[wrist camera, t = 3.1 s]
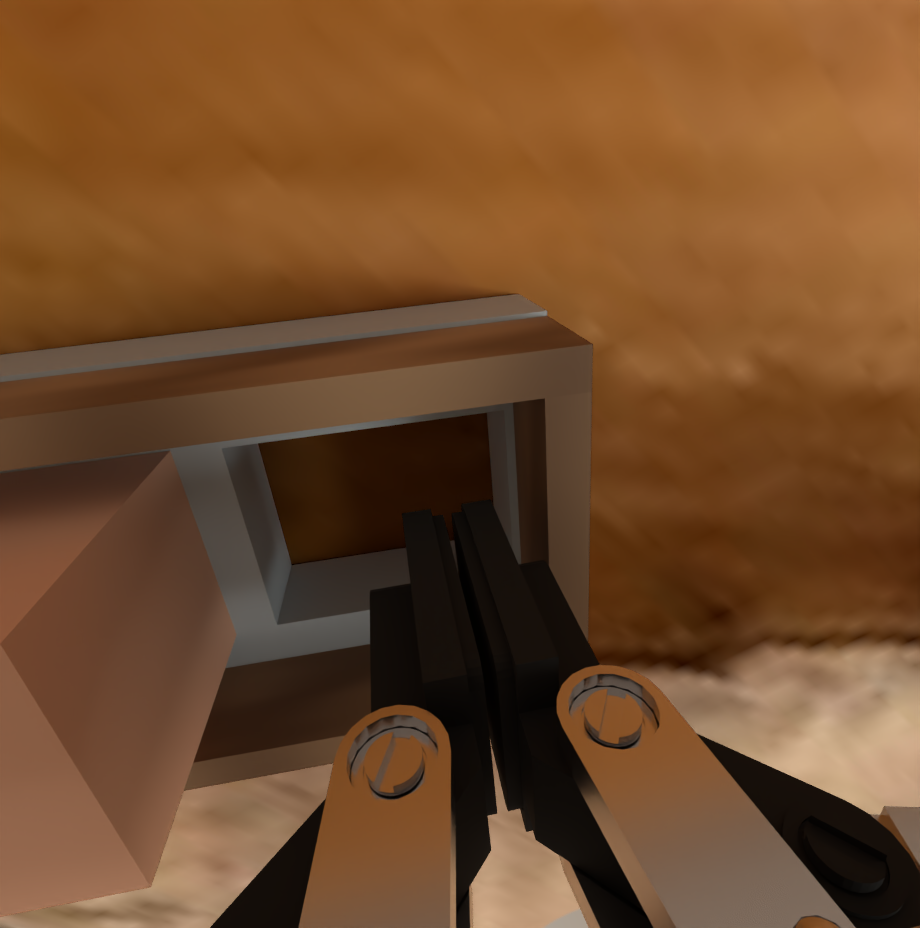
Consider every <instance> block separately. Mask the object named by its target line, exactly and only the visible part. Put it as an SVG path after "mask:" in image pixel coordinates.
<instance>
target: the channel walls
mask: <svg viewBox="0 0 920 928" xmlns="http://www.w3.org/2000/svg"><path fill="white" fill-rule="evenodd" d="M592 356H593V344H592V343H590V342H588V341H587V340H585V339H584V338H582V337H580V336H579V335H577V334H576V333H574V332H572V331H571V330H569V329H568V328H566V327H564V326H563V325H561V324H560V323H558V322H556V321H555V320H553V319H551V318H550V317H548V316H542V317H534V318H525V319H517V320H509V321H501V322H492V323H484V324H476V325H468V326H459V327H451V328H443V329H435V330H426V331H418V332H410V333H402V334H393V335H385V336H377V337H369V338H360V339H352V340H344V341H336V342H327V343H319V344H311V345H303V346H294V347H286V348H278V349H270V350H261V351H253V352H245V353H237V354H228V355H220V356H212V357H203V358H195V359H187V360H179V361H170V362H162V363H154V364H146V365H137V366H129V367H121V368H113V369H104V370H96V371H88V372H80V373H71V374H63V375H55V376H47V377H38V378H30V379H22V380H14V381H5V382H0V471H5V470H13V469H20V468H28V467H35V466H43V465H50V464H58V463H65V462H73V461H80V460H88V459H95V458H103V457H110V456H118V455H125V454H132V453H140V452H147V451H155V450H162V449H170V448H177V447H185V446H192V445H200V444H207V443H215V442H222V441H230V440H237V439H245V438H252V437H259V436H267V435H274V434H282V433H289V432H297V431H304V430H312V429H319V428H327V427H334V426H342V425H349V424H357V423H364V422H371V421H379V420H386V419H394V418H401V417H409V416H416V415H424V414H431V413H439V412H446V411H454V410H461V409H469V408H476V407H484V406H491V405H498V404H506V403H513V415H514V434H515V453H516V473H517V492H518V511H519V531H520V550H521V564H523V563H529V562H534V561H540V560H544V561H546V563H547V564H548V566H549V567H550V569H551V571H552V573H553V575H554V577H555V579H556V581H557V583H558V585H559V587H560V589H561V591H562V593H563V595H564V597H565V599H566V600H567V602H568V604H569V606H570V608H571V610H572V612H573V614H574V616H575V618H576V620H577V622H578V624H579V626H580V628H581V630H582V632H583V634H584V635H585V637H586V639H587V641H588V607H589V544H590V482H591V419H592ZM370 713H371V673H370V644H367V645H361V646H355V647H349V648H343V649H337V650H331V651H325V652H319V653H314V654H308V655H302V656H296V657H290V658H284V659H278V660H272V661H266V662H260V663H254V664H248V665H242V666H236V667H230V668H225V671H224V674H223V676H222V679H221V682H220V685H219V688H218V691H217V694H216V697H215V700H214V703H213V706H212V709H211V712H210V715H209V718H208V721H207V723H206V726H205V729H204V732H203V735H202V738H201V741H200V744H199V747H198V750H197V753H196V756H195V759H194V762H193V765H192V768H191V771H190V773H189V776H188V779H187V782H186V785H185V788H184V791H185V790H191V789H196V788H201V787H207V786H212V785H218V784H223V783H229V782H234V781H239V780H245V779H250V778H256V777H261V776H267V775H272V774H277V773H283V772H288V771H294V770H299V769H305V768H310V767H315V766H321V765H326V764H332V763H334V759H335V756H336V753H337V751H338V748H339V745H340V743H341V741H342V740H343V738H344V737H345V735H346V734H347V733H348V731H349V730H350V729H351V727H353V726H354V725H355V724H356V723H357V722H359V721H360V720H361V719H362V718H363V717H365V716H366V715H368V714H370Z"/></svg>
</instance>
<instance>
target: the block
mask: <svg viewBox="0 0 920 928" xmlns="http://www.w3.org/2000/svg"><path fill="white" fill-rule="evenodd" d="M236 635H237V634H236V632H235V629H234V626H233V623H232V620H231V618H230V615H229V612H228V609H227V607H226V604H225V601H224V598H223V595H222V593H221V590H220V587H219V584H218V582H217V579H216V576H215V573H214V571H213V568H212V565H211V562H210V559H209V557H208V554H207V551H206V548H205V546H204V543H203V540H202V537H201V534H200V532H199V529H198V526H197V523H196V521H195V518H194V515H193V512H192V510H191V507H190V504H189V501H188V498H187V496H186V493H185V490H184V487H183V485H182V482H181V479H180V476H179V473H178V471H177V468H176V465H175V462H174V460H173V457H172V454H171V451H164V452H157V453H149V454H142V455H134V456H127V457H119V458H112V459H105V460H97V461H90V462H82V463H75V464H67V465H60V466H52V467H45V468H37V469H30V470H23V471H15V472H8V473H0V917H2V916H7V915H12V914H17V913H22V912H27V911H32V910H38V909H43V908H48V907H53V906H58V905H63V904H68V903H73V902H78V901H83V900H88V899H93V898H98V897H103V896H108V895H114V894H119V893H124V892H129V891H134V890H139V889H144V888H149V887H151V885H152V882H153V879H154V876H155V873H156V870H157V868H158V865H159V862H160V859H161V856H162V853H163V850H164V847H165V844H166V841H167V838H168V835H169V832H170V829H171V826H172V823H173V821H174V818H175V815H176V812H177V809H178V806H179V803H180V800H181V797H182V794H183V791H184V788H185V785H186V782H187V779H188V776H189V773H190V771H191V768H192V765H193V762H194V759H195V756H196V753H197V750H198V747H199V744H200V741H201V738H202V735H203V732H204V729H205V726H206V723H207V721H208V718H209V715H210V712H211V709H212V706H213V703H214V700H215V697H216V694H217V691H218V688H219V685H220V682H221V679H222V676H223V674H224V671H225V668H226V665H227V662H228V659H229V656H230V653H231V650H232V647H233V644H234V641H235V638H236Z"/></svg>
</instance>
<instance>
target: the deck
mask: <svg viewBox="0 0 920 928" xmlns="http://www.w3.org/2000/svg"><path fill="white" fill-rule="evenodd" d="M542 316H547V310H545V309H543V308H541V307H540V306H538V305H536V304H535V303H533V302H531V301H530V300H528V299H526V298H525V297H523V296H521V295H520V294H513V295H505V296H496V297H488V298H479V299H471V300H462V301H454V302H445V303H437V304H428V305H420V306H411V307H403V308H394V309H385V310H377V311H368V312H360V313H351V314H343V315H334V316H326V317H317V318H309V319H300V320H292V321H283V322H275V323H266V324H258V325H249V326H241V327H232V328H223V329H215V330H206V331H198V332H189V333H181V334H172V335H164V336H155V337H147V338H138V339H130V340H121V341H113V342H104V343H96V344H87V345H79V346H70V347H61V348H53V349H44V350H36V351H27V352H19V353H10V354H2V355H0V382H5V381H14V380H22V379H30V378H38V377H47V376H55V375H63V374H71V373H80V372H88V371H96V370H104V369H113V368H121V367H129V366H137V365H146V364H154V363H162V362H170V361H179V360H187V359H195V358H203V357H212V356H220V355H228V354H237V353H245V352H253V351H261V350H270V349H278V348H286V347H294V346H303V345H311V344H319V343H327V342H336V341H344V340H352V339H360V338H369V337H377V336H385V335H393V334H402V333H410V332H418V331H426V330H435V329H443V328H451V327H459V326H468V325H476V324H484V323H492V322H501V321H509V320H517V319H525V318H534V317H542ZM480 413H487V423H488V436H489V449H490V463H491V476H492V489H493V503H494V508H495V511H496V513H497V515H498V518H499V520H500V522H501V525H502V527H503V529H504V531H505V534H506V536H507V538H508V541H509V543H510V545H511V548H512V550H513V552H514V555H515V557H516V559H517V562H518V564H521V550H520V531H519V511H518V492H517V473H516V453H515V434H514V415H513V403H506V404H498V405H491V406H484V407H476V408H469V409H461V410H454V411H446V412H439V413H431V414H424V415H416V416H409V417H401V418H394V419H386V420H379V421H371V422H364V423H357V424H349V425H342V426H334V427H327V428H319V429H312V430H304V431H297V432H289V433H282V434H274V435H267V436H259V437H252V438H245V439H237V440H230V441H222V442H215V443H207V444H200V445H192V446H185V447H177V448H170V449H162V450H155V451H147V452H140V453H132V454H125V455H118V456H110V457H103V458H95V459H88V460H80V461H73V462H65V463H58V464H50V465H43V466H35V467H28V468H20V469H13V470H5V471H0V473H8V472H15V471H23V470H30V469H37V468H45V467H52V466H60V465H67V464H75V463H82V462H90V461H97V460H105V459H112V458H119V457H127V456H134V455H142V454H149V453H157V452H164V451H171V454H172V457H173V460H174V462H175V465H176V468H177V471H178V473H179V476H180V479H181V482H182V485H183V487H184V490H185V493H186V496H187V498H188V501H189V504H190V507H191V510H192V512H193V515H194V518H195V521H196V523H197V526H198V529H199V532H200V534H201V537H202V540H203V543H204V546H205V548H206V551H207V554H208V557H209V559H210V562H211V565H212V568H213V571H214V573H215V576H216V579H217V582H218V584H219V587H220V590H221V593H222V595H223V598H224V601H225V604H226V607H227V609H228V612H229V615H230V618H231V620H232V623H233V626H234V629H235V632H236V634H237V635H236V638H235V641H234V644H233V647H232V650H231V653H230V656H229V659H228V662H227V665H226V668H230V667H236V666H242V665H248V664H254V663H260V662H266V661H272V660H278V659H284V658H290V657H296V656H302V655H308V654H314V653H319V652H325V651H331V650H337V649H343V648H349V647H355V646H361V645H367V644H370V590H374V589H380V588H386V587H391V586H397V585H403V584H409V583H410V575H409V567H408V559H407V551H406V548H400V549H394V550H387V551H381V552H374V553H368V554H361V555H355V556H348V557H342V558H335V559H329V560H322V561H316V562H309V563H303V564H296V565H292V564H291V560H290V557H289V553H288V550H287V546H286V542H285V539H284V535H283V532H282V528H281V525H280V521H279V517H278V514H277V510H276V507H275V503H274V500H273V496H272V492H271V489H270V485H269V482H268V478H267V475H266V471H265V467H264V464H263V460H262V457H261V453H260V450H259V446H258V443H265V442H272V441H280V440H287V439H295V438H302V437H310V436H317V435H324V434H332V433H339V432H347V431H354V430H361V429H369V428H376V427H384V426H391V425H399V424H406V423H413V422H421V421H428V420H436V419H443V418H450V417H458V416H465V415H473V414H480ZM450 543H451V547H452V551H453V555H454V559H455V563H456V567H457V558H456V549H455V541H454V540H452V541H450ZM457 571H458V567H457Z"/></svg>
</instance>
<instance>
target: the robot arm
mask: <svg viewBox="0 0 920 928" xmlns="http://www.w3.org/2000/svg"><path fill="white" fill-rule="evenodd" d="M461 510H462V512H456V513H452V523H453V532H454V541H455V549H456V558H457V567H458V571H457V567H456V563H455V559H454V555H453V551H452V547H451V543H450V540H449V536H448V532H447V528H446V524H445V520H444V516H443V515H438V516H432V513H431V509H427V510H421V511H415V512H408V513H402V518H403V526H404V534H405V542H406V551H407V559H408V567H409V575H410V583H409V584H403V585H397V586H391V587H386V588H380V589H374V590H370V673H371V713H370V714H368V715H366V716H365V717H363V718H362V719H361V720H360V721H359V722H357V723H356V724H355V725H354V726H353V727H351V729H350V730H349V731H348V733H347V734H346V735H345V737H344V738H343V740H342V741H341V743H340V745H339V748H338V751H337V753H336V756H335V759H334V763H333V768H332V773H331V777H330V782H329V787H328V792H327V796H326V799H325V800H324V801H323V802H322V803H321V805H320V806H319V807H318V808H317V809H316V810H315V811H314V812H313V813H312V815H311V816H310V817H309V818H308V819H307V820H306V821H305V822H304V823H303V825H302V826H301V827H300V828H299V829H298V830H297V831H296V832H295V834H294V835H293V836H292V837H291V838H290V839H289V840H288V841H287V842H286V844H285V845H284V846H283V847H282V848H281V849H280V850H279V851H278V852H277V854H276V855H275V856H274V857H273V858H272V859H271V860H270V861H269V862H268V864H267V865H266V866H265V867H264V868H263V869H262V870H261V871H260V873H259V874H258V875H257V876H256V877H255V878H254V879H253V880H252V881H251V883H250V884H249V885H248V886H247V887H246V888H245V889H244V890H243V891H242V893H241V894H240V895H239V896H238V897H237V898H236V899H235V900H234V902H233V903H232V904H231V905H230V906H229V907H228V908H227V909H226V910H225V912H224V913H223V914H222V915H221V916H220V917H219V918H218V919H217V920H216V922H215V923H214V924H213V925H212V926H211V927H210V928H473V901H472V888H471V883H472V881H473V880H474V878H475V876H476V875H477V873H478V871H479V870H480V868H481V866H482V865H483V863H484V861H485V860H486V858H487V856H488V854H489V853H490V851H491V844H490V835H489V826H488V817H487V816H488V815H493V814H497V806H496V796H495V786H494V776H493V766H492V756H491V746H490V740H491V744H492V748H493V752H494V757H495V761H496V765H497V769H498V774H499V778H500V782H501V786H502V790H503V795H504V799H505V803H506V807H507V810H508V811H511V810H515V809H519V808H520V810H521V814H522V818H523V821H524V825H525V829H526V832H528V831H532V830H533V831H534V835H535V839H536V840H537V841H538V842H540V843H541V844H543V845H545V846H546V847H548V848H549V849H551V850H552V851H554V852H555V853H557V854H558V855H559V857H560V860H561V864H562V867H563V871H564V873H565V875H566V878H567V880H568V882H569V884H570V887H571V889H572V891H573V893H574V896H575V898H576V900H577V902H578V905H579V907H580V909H581V911H582V914H583V916H584V918H585V920H586V922H587V925H588V927H589V928H920V807H889V806H884V807H883V810H882V812H881V814H880V815H870V814H868V813H866V812H865V811H863V810H861V809H859V808H858V807H856V806H854V805H852V804H851V803H849V802H847V801H845V800H843V799H841V798H838V797H836V796H834V795H832V794H830V793H827V792H825V791H823V790H821V789H819V788H816V787H814V786H812V785H810V784H807V783H805V782H803V781H801V780H799V779H796V778H794V777H792V776H790V775H787V774H785V773H783V772H781V771H779V770H776V769H774V768H772V767H770V766H767V765H765V764H763V763H761V762H759V761H756V760H754V759H752V758H750V757H747V756H745V755H743V754H741V753H739V752H736V751H734V750H732V749H730V748H727V747H725V746H723V745H721V744H719V743H716V742H714V741H712V740H710V739H707V738H705V737H703V736H701V735H699V734H696V733H695V731H694V730H693V729H692V728H691V727H690V725H689V724H688V723H687V722H686V720H685V719H684V718H683V717H682V716H681V714H680V713H679V712H678V711H677V709H676V708H675V707H674V706H673V705H672V703H671V702H670V701H669V700H668V699H667V697H666V696H665V695H664V694H663V692H662V691H661V690H660V689H659V688H658V687H656V686H655V685H654V684H653V683H652V682H651V681H650V680H649V679H647V678H646V677H644V676H642V675H640V674H638V673H637V672H635V671H633V670H629V669H626V668H622V667H619V666H611V665H599V663H598V661H597V659H596V657H595V655H594V653H593V651H592V649H591V647H590V645H589V643H588V641H587V639H586V637H585V635H584V634H583V632H582V630H581V628H580V626H579V624H578V622H577V620H576V618H575V616H574V614H573V612H572V610H571V608H570V606H569V604H568V602H567V600H566V599H565V597H564V595H563V593H562V591H561V589H560V587H559V585H558V583H557V581H556V579H555V577H554V575H553V573H552V571H551V569H550V567H549V566H548V564H547V563H546V561H544V560H540V561H534V562H529V563H523V564H518V562H517V559H516V557H515V555H514V552H513V550H512V548H511V545H510V543H509V541H508V538H507V536H506V534H505V531H504V529H503V527H502V525H501V522H500V520H499V518H498V515H497V513H496V511H495V508H494V506H493V504H492V502H491V500H490V499H489V500H483V501H477V502H470V503H464V504H462V505H461Z"/></svg>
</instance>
